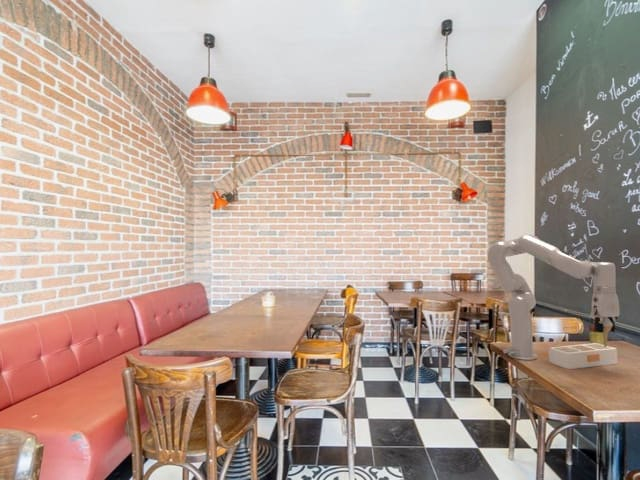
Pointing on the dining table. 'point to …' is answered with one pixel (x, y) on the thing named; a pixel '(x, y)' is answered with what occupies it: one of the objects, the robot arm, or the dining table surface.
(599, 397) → the dining table surface
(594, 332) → the sauce bottle
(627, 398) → the dining table surface
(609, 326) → the ice cream cone
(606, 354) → the compartment tray
